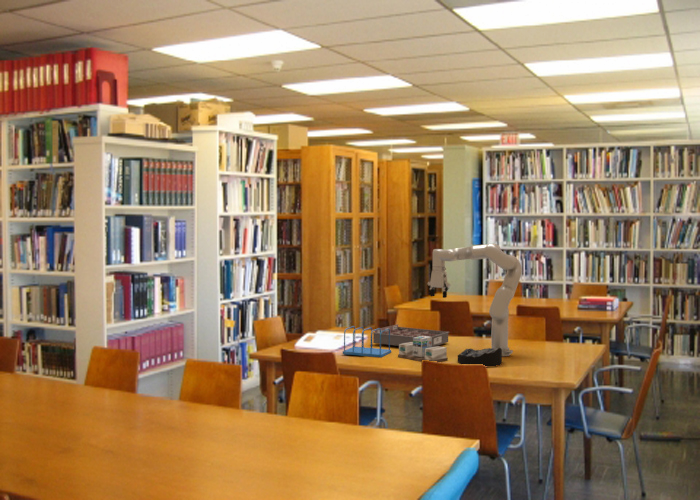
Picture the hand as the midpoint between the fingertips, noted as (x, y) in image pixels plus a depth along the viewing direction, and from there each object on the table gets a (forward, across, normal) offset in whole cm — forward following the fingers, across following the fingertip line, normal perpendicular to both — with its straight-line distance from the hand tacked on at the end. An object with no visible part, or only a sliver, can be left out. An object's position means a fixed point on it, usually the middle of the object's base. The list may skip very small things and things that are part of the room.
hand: (438, 296), depth 437 cm
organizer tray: (+34, +27, -5) cm, 43 cm away
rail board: (+33, -10, +26) cm, 43 cm away
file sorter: (+34, +24, +38) cm, 56 cm away
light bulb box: (+32, -10, +26) cm, 42 cm away
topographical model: (+34, -39, +10) cm, 53 cm away
